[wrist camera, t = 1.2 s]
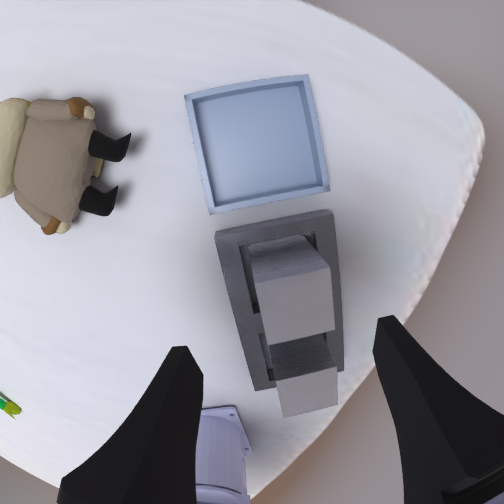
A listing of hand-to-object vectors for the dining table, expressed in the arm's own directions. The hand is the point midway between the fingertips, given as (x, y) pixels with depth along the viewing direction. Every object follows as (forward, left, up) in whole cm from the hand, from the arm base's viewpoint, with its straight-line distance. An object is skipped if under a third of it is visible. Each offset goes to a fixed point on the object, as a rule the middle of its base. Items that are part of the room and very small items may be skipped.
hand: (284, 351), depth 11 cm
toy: (+11, +14, -12) cm, 22 cm away
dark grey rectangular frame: (-5, -1, -11) cm, 12 cm away
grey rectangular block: (-8, -1, -11) cm, 14 cm away
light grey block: (-1, -1, -11) cm, 12 cm away
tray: (+8, -1, -11) cm, 14 cm away
